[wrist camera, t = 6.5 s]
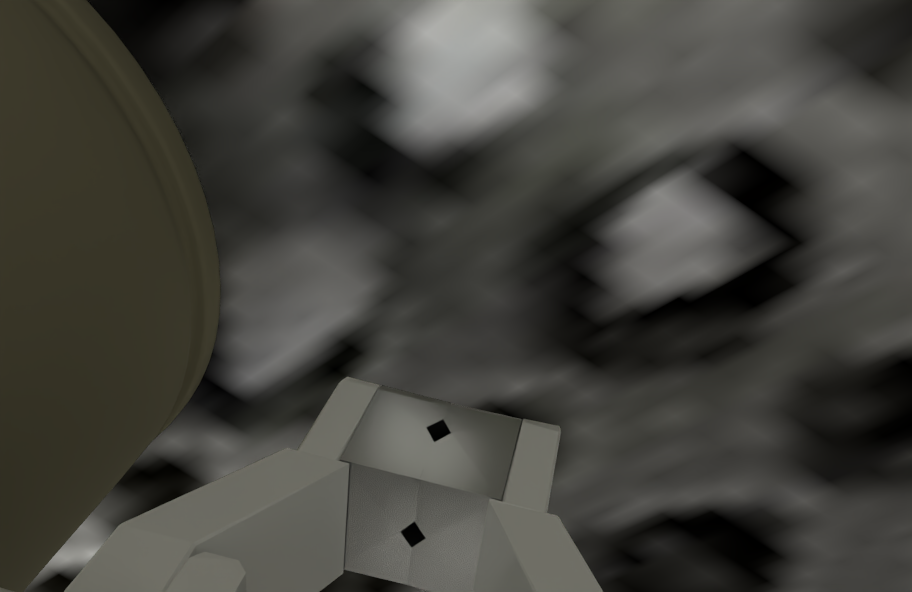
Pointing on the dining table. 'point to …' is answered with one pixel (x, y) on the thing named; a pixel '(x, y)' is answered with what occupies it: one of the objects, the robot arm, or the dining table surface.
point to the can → (89, 274)
